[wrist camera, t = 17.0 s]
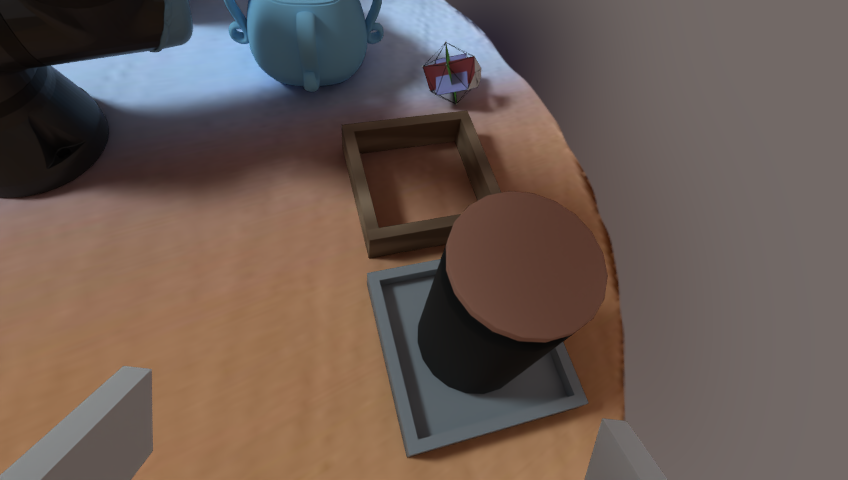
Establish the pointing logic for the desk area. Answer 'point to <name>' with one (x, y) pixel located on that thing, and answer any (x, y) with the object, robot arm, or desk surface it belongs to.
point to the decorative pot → (306, 38)
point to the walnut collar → (402, 136)
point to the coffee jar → (508, 290)
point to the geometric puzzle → (453, 74)
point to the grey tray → (441, 405)
